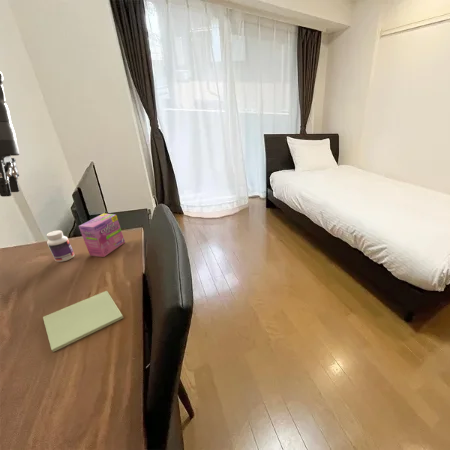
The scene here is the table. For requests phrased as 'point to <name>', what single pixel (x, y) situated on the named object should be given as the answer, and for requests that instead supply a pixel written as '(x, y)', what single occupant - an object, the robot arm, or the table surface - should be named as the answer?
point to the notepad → (80, 320)
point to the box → (102, 234)
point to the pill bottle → (59, 246)
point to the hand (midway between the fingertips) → (10, 194)
